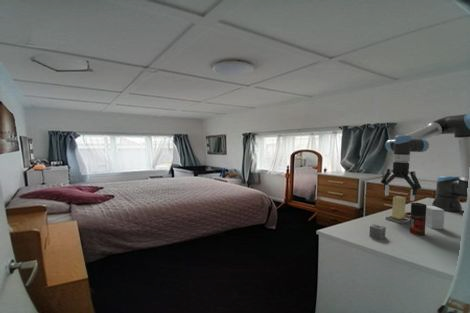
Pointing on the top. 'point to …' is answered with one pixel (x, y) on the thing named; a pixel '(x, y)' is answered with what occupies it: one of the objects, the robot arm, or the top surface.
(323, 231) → the top surface
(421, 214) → the deodorant
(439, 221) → the small box
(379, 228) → the dice cube
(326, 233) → the top surface
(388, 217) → the grey flat frame
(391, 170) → the robot arm
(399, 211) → the tan wooden beam
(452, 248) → the top surface
